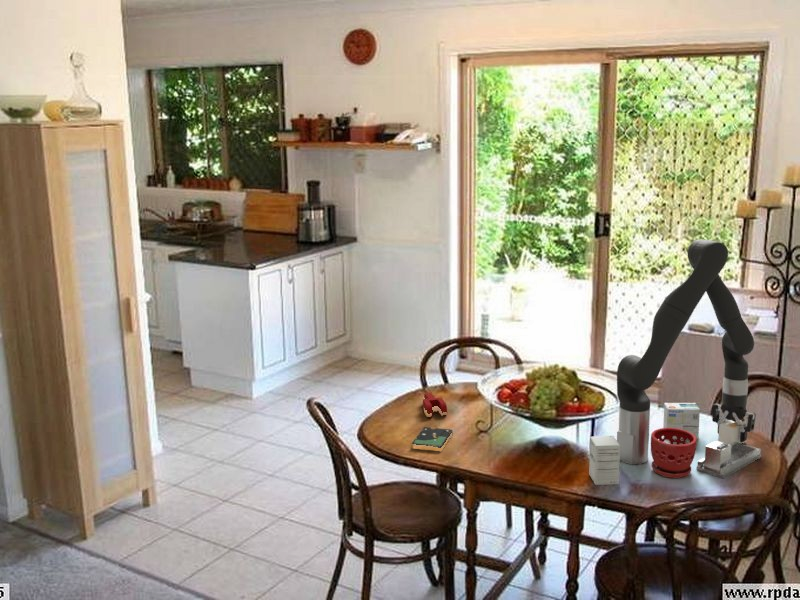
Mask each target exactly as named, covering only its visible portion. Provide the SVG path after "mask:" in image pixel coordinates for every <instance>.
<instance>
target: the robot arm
mask: <svg viewBox="0 0 800 600" xmlns="http://www.w3.org/2000/svg"><path fill="white" fill-rule="evenodd" d="M728 258H729V250H728V248H727V246H726V245H725V244H724V242H723V243H722V242H719V241H716V240H709V239H705V238H704V239H703V238H700V239H696V240H694V241H692V242H691V243H690V244H689V246H688V249H687V259H688V261H689V264H690V265H691V268H692V269H693V270H692V272H691V273H690V275H689V276H688V278H686V280H685V281H684V282H682V283H681V284H680V285H679V286H677V287H676V288H675V289H673V290H672V291H671V292H670V293H669V294H668V295H667V296H666V297H665V299H663V301H662V303H661V304H660V306H659V308H658V309H657V311H656V313H655V315H654V318H653V322H652V330H651V339H650V342H649V344H648V346H647V348H646V350H645V352H644V354H643V355H642V357H640V356H638V355H633V354H628V355H626V356H624V357H623V358H621V360H620V362H619V363H618V366H617V370H616V393H617V394H616V395H617V398H618V400H619V401H618V402H619V411H618V414H619V415H618V431H617V432H616V440H617V442H618V443H619V445H620V460H619V462H623V463H626V464H628V465H631V466H633V465H639V464H644V463H645V464H646V462H648V460H649V444H650V443H649V439H650V418H651V417H650V416H651V399H650V397H649V396H648V394H647V393H646V390H648V389H649V388H650V387H652V386H653V385H654V383H656V380H657V378H658V376H659V375H660V372H661V370H662V367H663V365H664V364H665V362H666V360H667V357H668V355H669V353H670V351H671V350H672V348H673V347H674V345H675V343H676V341H677V339H678V338H679V336H680V334H681V332H682V331H683V330H684V328H685V327H686V325H687V323H688V322H689V320H690V319H691V316H692V315H693V312H695V309H696V307H697V306H698V304H699V303H700V301H701V300H702V298H703V297H704V295H705V293H706V294H707V297H708V298H709V300H710V303H711V306H712V308H713V311H714V314H715V317H716V319H717V322H718V325H719V326H720V327H721V328H722V329H723V330H724V331H725V332H724V334H723V335H722V339H721V350H722V355H723V360H724V361H723V362H724V373H723V380H722V391H721V404H720V403H719V402H717V403H714V404H712V407H711V408H712V411H711V412H712V413H711V414H712V417H711V419H712V420H711V421H712V422H713V423H715V424H716V425H717V434H718V435H719V425H720V424H722V423H724V422H726V421H728V420H732V421H734V422H737V424H738V426H739V427H740V429H741V432H740V442H741V443H743V442H745V443H746V441H747V440H748V433H750V432H751V431H754V430H755V425H756V424H755V423H756V416H757V414H756V413H755V412H749V411H748V410H747V405H748V392H749V381H748V380H749V379H748V378H749V376H748V375H749V373H748V372H749V363H748V361H747V360H746V358H744V356H747V355H749V354H750V353H752V352H753V350H754V347H755V339H754V337H753V334H752V332H751V331H750V328H749V327H748V325H747V324H746V322H745V321H744V319H743V317H742V315H741V312H740V309H739V305H738V303H737V301H736V298H735V297H734V295H733V294H732V292H731V291H730V289H729V288H728V286H727V285H726V284H725V283H724V281H723V280H722V277H721V276H720V273H721V271H722V270H723V269H724V268H725V266H726V263H727V262H728ZM720 410H721V412H722V415H721V414H720ZM720 415H721V417H720ZM745 417H746V418H745ZM746 419H747V420H746ZM740 420H741V421H740ZM743 444H744V443H743Z"/></svg>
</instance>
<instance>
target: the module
mask: <svg viewBox="0 0 800 600" xmlns="http://www.w3.org/2000/svg"><path fill="white" fill-rule="evenodd" d="M740 421H741V420H740ZM740 432H741V429H740V427H739V426H738V424H737V422H734V421H732V420H726V421H725V422H724V423H722V424H720V425H719V434H718V439H717V441H719V442H722V443H724V442H725V443H728V444H731V443H733V442H738V443H741V442H740Z"/></svg>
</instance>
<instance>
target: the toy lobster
mask: <svg viewBox="0 0 800 600" xmlns="http://www.w3.org/2000/svg"><path fill="white" fill-rule="evenodd" d="M424 398H425V399H424ZM446 403H447V402H446V401H445V400H444V399H443V397H435V396H434V395H433V393H432V392H426V393H424V394H423V399H422V408H423V407H424V408H425V410H427V413H428V414H430V413H433V414H434V412H433V410H432V407H434V406H438V407H439V408H440V409H441V411H442V413H443V412H447V413H448V407H447V404H446Z"/></svg>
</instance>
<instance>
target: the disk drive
mask: <svg viewBox="0 0 800 600" xmlns="http://www.w3.org/2000/svg"><path fill="white" fill-rule="evenodd" d="M451 433H452V434H453V429H451V428H450V429H446V428H441V427H440V428H438V427H437V428H431V427H430V426H424V427H423V428H422V429H421V431H420V432H419V433H418V435H417V436H416V437H415V438H414V440H413V441H412V442H411V445H412V444H416V445H426V446H433V447H438V448H441V447H442V446H443V445H444V443H445V442H446V440H447V438H448V437H449V436H450V434H451Z"/></svg>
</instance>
